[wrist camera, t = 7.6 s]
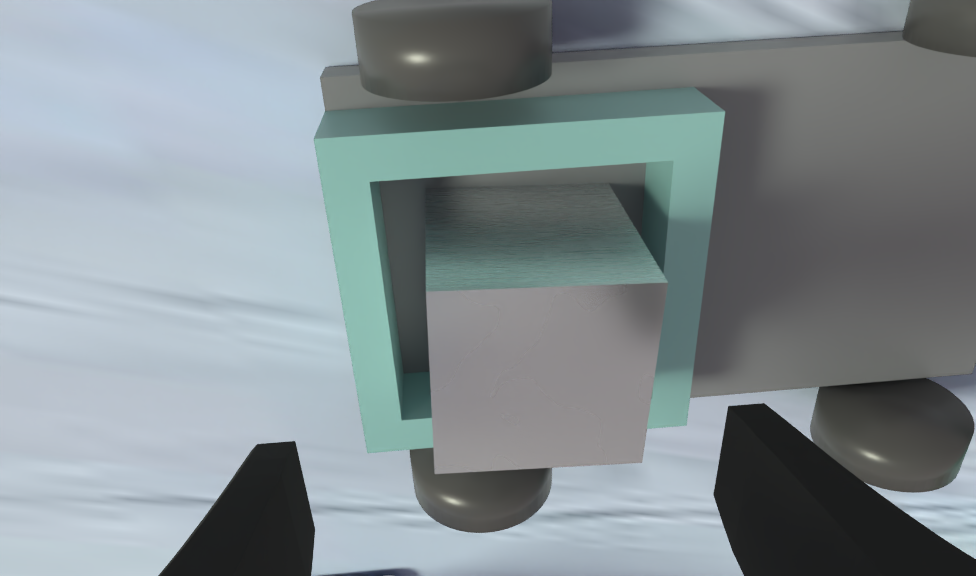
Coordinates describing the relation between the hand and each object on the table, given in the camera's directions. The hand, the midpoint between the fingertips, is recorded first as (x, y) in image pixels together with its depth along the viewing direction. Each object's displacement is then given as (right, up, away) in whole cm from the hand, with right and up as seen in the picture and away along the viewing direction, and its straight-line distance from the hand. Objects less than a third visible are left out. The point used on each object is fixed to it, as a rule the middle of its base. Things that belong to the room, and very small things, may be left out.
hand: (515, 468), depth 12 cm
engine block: (0, +4, +7) cm, 8 cm away
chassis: (+5, +5, +8) cm, 10 cm away
